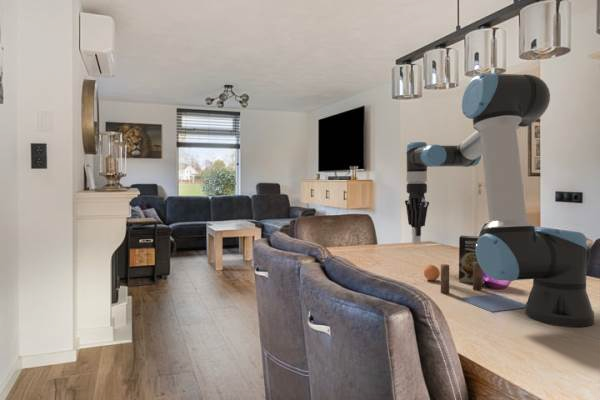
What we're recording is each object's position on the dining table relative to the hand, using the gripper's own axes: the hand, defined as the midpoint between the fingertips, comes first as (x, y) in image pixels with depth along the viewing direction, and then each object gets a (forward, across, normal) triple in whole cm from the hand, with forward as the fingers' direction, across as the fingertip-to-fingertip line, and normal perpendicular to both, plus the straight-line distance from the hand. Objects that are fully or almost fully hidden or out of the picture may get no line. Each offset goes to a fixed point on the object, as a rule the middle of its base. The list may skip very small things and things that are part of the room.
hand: (416, 244), depth 157 cm
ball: (+9, -10, 0) cm, 13 cm away
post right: (+12, -26, -6) cm, 29 cm away
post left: (+12, -26, +6) cm, 29 cm away
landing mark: (+12, -40, 0) cm, 42 cm away
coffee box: (+12, -16, -13) cm, 24 cm away
